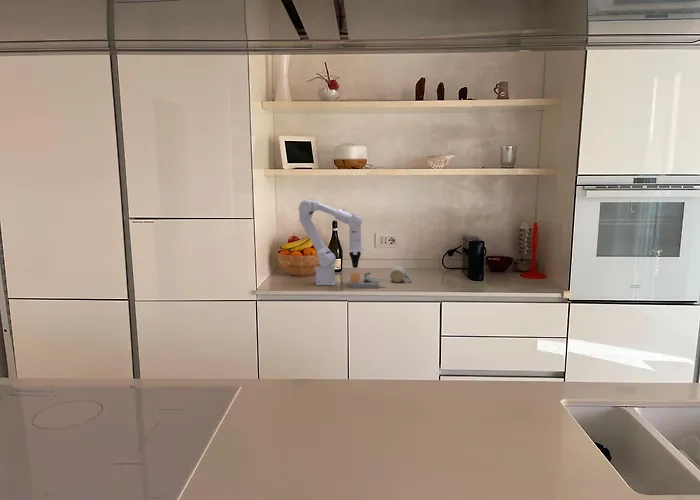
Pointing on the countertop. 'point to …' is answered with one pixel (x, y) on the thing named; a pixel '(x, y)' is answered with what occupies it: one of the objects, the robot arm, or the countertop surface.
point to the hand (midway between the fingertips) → (355, 266)
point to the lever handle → (372, 278)
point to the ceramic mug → (399, 274)
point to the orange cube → (355, 277)
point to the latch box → (364, 284)
